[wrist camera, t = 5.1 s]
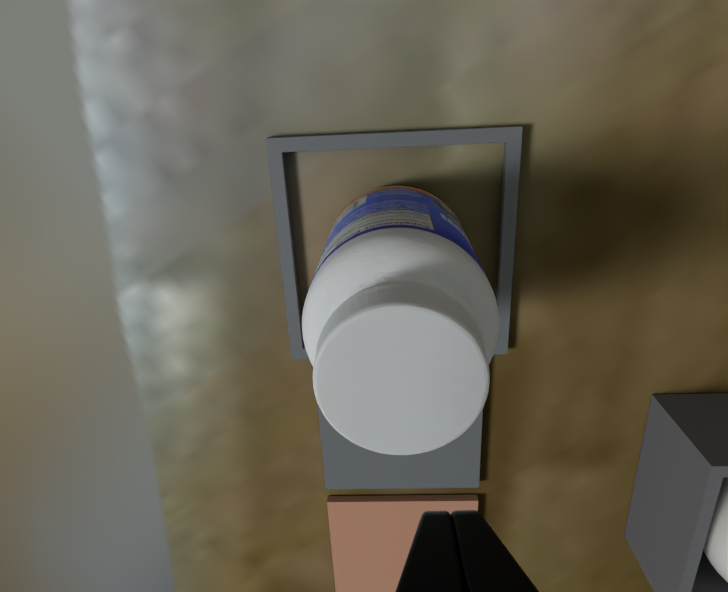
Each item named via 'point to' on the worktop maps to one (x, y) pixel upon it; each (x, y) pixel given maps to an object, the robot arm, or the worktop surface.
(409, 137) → the game board
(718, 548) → the white ball
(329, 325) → the pill bottle
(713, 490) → the grey open box
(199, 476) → the worktop surface
